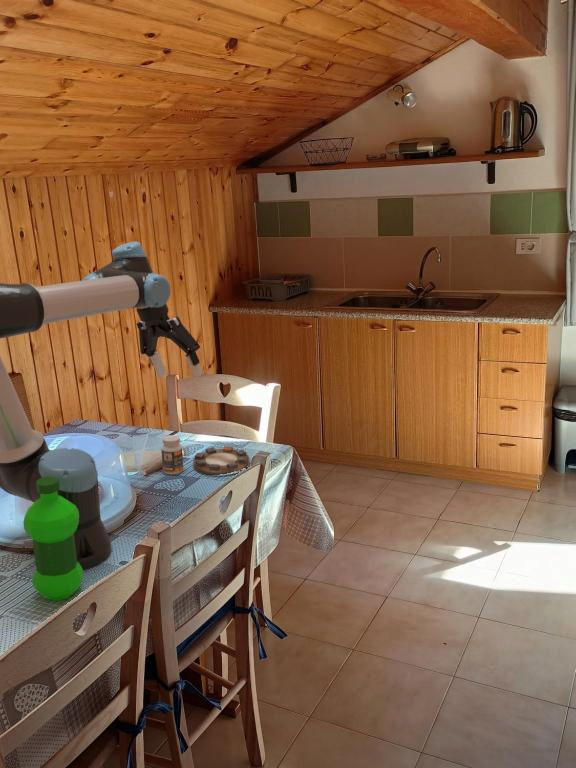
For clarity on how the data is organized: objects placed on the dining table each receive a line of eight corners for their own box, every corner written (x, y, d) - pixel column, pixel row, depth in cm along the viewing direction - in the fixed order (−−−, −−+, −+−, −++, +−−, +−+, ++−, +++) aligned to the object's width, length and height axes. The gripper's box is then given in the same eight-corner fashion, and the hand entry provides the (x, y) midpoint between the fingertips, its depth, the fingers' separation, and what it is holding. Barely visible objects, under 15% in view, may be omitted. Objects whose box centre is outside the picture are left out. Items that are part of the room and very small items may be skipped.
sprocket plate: (240, 478, 206) (240, 470, 205) (185, 473, 210) (184, 465, 209) (255, 456, 221) (255, 448, 220) (203, 451, 224) (203, 444, 224)
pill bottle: (179, 476, 208) (177, 442, 205) (159, 474, 209) (157, 441, 206) (186, 467, 213) (184, 435, 210) (166, 466, 214) (165, 433, 211)
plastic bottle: (48, 577, 159) (35, 468, 152) (94, 582, 157) (84, 472, 150) (23, 604, 150) (8, 489, 143) (72, 610, 148) (60, 494, 141)
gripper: (193, 292, 185) (223, 368, 193) (127, 299, 201) (158, 369, 209) (173, 306, 180) (205, 382, 188) (107, 311, 196) (140, 382, 204)
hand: (180, 375), depth 199 cm, fingers open, 13 cm apart
